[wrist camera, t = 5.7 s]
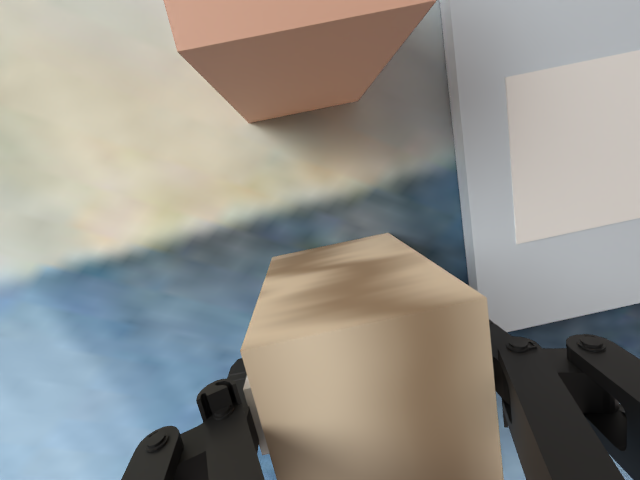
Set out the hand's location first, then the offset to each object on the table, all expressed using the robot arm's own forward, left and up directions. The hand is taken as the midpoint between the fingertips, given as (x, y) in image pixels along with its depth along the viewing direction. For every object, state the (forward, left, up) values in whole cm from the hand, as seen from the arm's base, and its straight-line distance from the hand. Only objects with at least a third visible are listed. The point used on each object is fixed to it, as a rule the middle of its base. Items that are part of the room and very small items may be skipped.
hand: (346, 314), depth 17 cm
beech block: (0, 0, -2) cm, 2 cm away
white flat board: (+15, +6, -2) cm, 16 cm away
